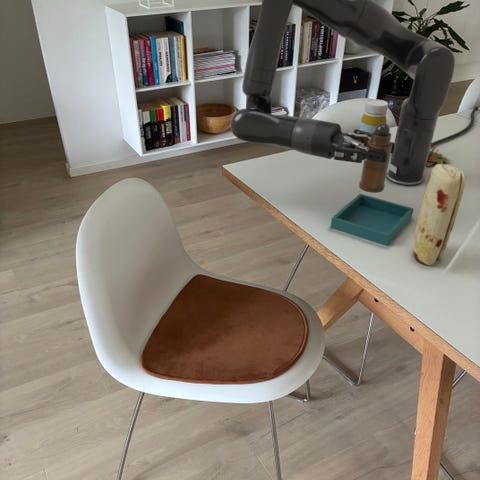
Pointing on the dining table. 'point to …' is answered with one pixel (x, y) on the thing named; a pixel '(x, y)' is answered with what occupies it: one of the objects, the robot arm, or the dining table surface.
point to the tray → (372, 219)
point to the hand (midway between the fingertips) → (390, 152)
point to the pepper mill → (376, 170)
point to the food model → (438, 213)
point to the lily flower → (435, 157)
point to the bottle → (373, 115)
